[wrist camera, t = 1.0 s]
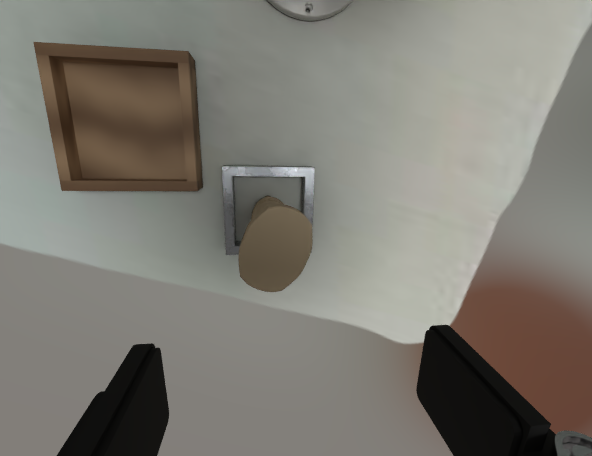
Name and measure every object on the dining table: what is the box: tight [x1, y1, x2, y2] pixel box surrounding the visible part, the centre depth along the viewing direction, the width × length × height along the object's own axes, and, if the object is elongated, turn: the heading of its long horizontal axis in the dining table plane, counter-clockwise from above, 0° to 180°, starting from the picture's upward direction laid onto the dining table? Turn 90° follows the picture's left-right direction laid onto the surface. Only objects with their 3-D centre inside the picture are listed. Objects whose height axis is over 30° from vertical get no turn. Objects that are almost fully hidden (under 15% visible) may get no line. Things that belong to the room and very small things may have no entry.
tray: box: [34, 42, 203, 191], centre depth 29 cm, size 13×13×3 cm
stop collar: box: [222, 165, 314, 255], centre depth 34 cm, size 10×10×2 cm
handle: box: [239, 196, 312, 292], centre depth 28 cm, size 5×6×15 cm
